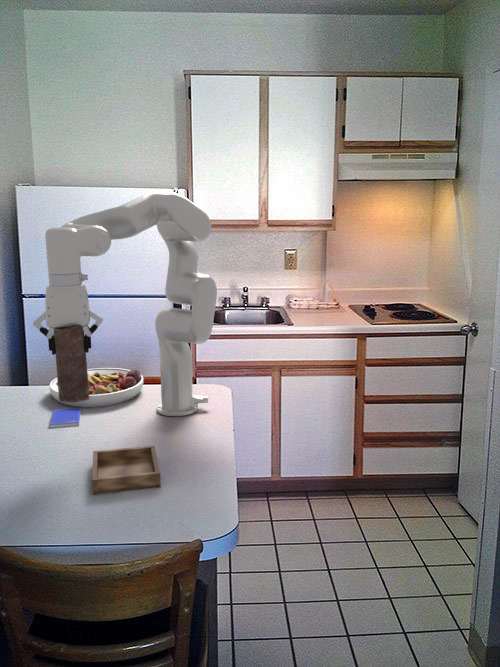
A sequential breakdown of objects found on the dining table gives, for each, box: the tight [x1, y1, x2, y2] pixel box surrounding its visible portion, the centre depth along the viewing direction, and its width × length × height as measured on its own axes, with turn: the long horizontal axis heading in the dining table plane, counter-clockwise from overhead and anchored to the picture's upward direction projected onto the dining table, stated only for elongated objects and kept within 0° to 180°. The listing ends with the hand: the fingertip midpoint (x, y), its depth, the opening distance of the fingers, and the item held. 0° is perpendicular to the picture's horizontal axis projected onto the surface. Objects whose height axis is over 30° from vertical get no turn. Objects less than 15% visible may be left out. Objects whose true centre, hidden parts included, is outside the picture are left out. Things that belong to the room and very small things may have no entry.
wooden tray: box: [91, 445, 161, 495], centre depth 148 cm, size 15×16×4 cm
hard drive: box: [49, 407, 82, 429], centre depth 185 cm, size 2×8×12 cm
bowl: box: [49, 367, 144, 408], centre depth 206 cm, size 30×30×8 cm
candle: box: [53, 325, 90, 403], centre depth 153 cm, size 8×7×20 cm
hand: (70, 351), depth 152 cm, fingers closed on candle, 7 cm apart
